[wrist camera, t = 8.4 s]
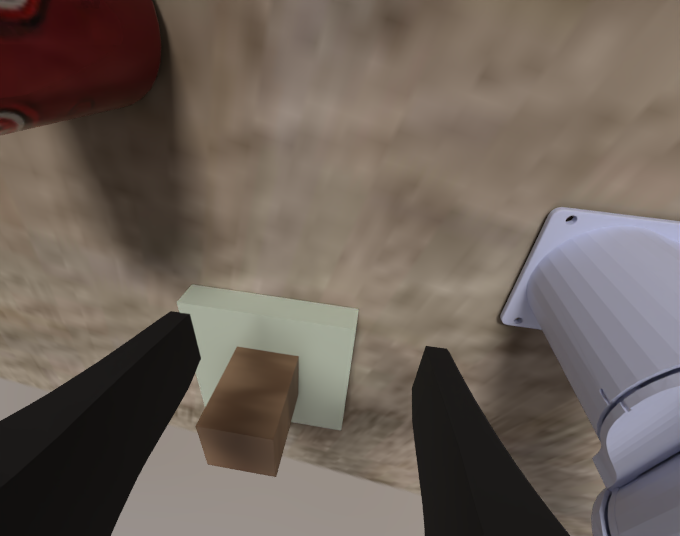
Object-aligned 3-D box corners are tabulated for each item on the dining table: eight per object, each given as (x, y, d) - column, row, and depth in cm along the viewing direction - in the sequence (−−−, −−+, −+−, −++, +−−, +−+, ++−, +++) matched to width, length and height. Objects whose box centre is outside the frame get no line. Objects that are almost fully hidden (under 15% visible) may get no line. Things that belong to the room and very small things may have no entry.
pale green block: (358, 308, 23) (355, 329, 21) (344, 409, 29) (341, 430, 28) (191, 284, 23) (176, 302, 22) (215, 387, 30) (204, 407, 29)
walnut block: (298, 356, 23) (273, 440, 18) (298, 394, 26) (276, 477, 21) (237, 346, 24) (195, 426, 19) (242, 385, 26) (207, 464, 21)
